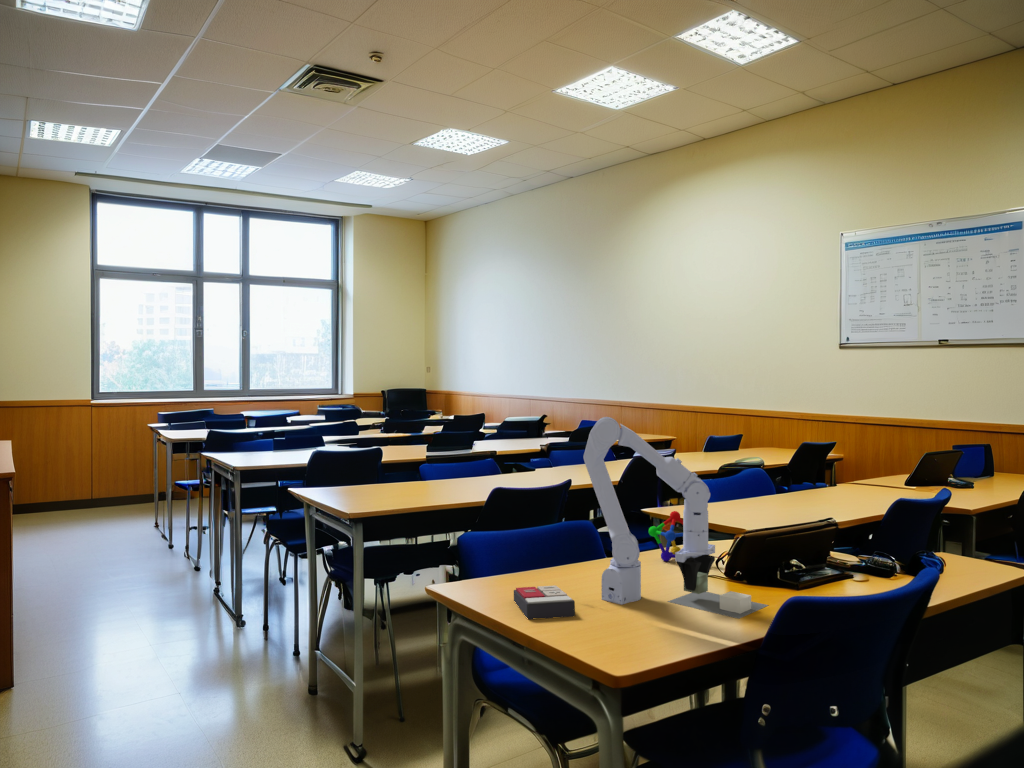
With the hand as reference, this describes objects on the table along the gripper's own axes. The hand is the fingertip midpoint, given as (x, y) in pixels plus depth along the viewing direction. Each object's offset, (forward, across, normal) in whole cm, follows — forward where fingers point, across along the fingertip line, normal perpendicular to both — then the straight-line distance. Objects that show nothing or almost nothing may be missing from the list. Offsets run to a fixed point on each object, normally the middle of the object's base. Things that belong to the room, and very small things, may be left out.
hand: (695, 588), depth 167 cm
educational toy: (+4, +35, +28) cm, 45 cm away
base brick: (+3, 0, -10) cm, 10 cm away
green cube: (+1, 0, 0) cm, 1 cm away
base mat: (+4, +1, -5) cm, 6 cm away
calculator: (+5, -28, +23) cm, 36 cm away
